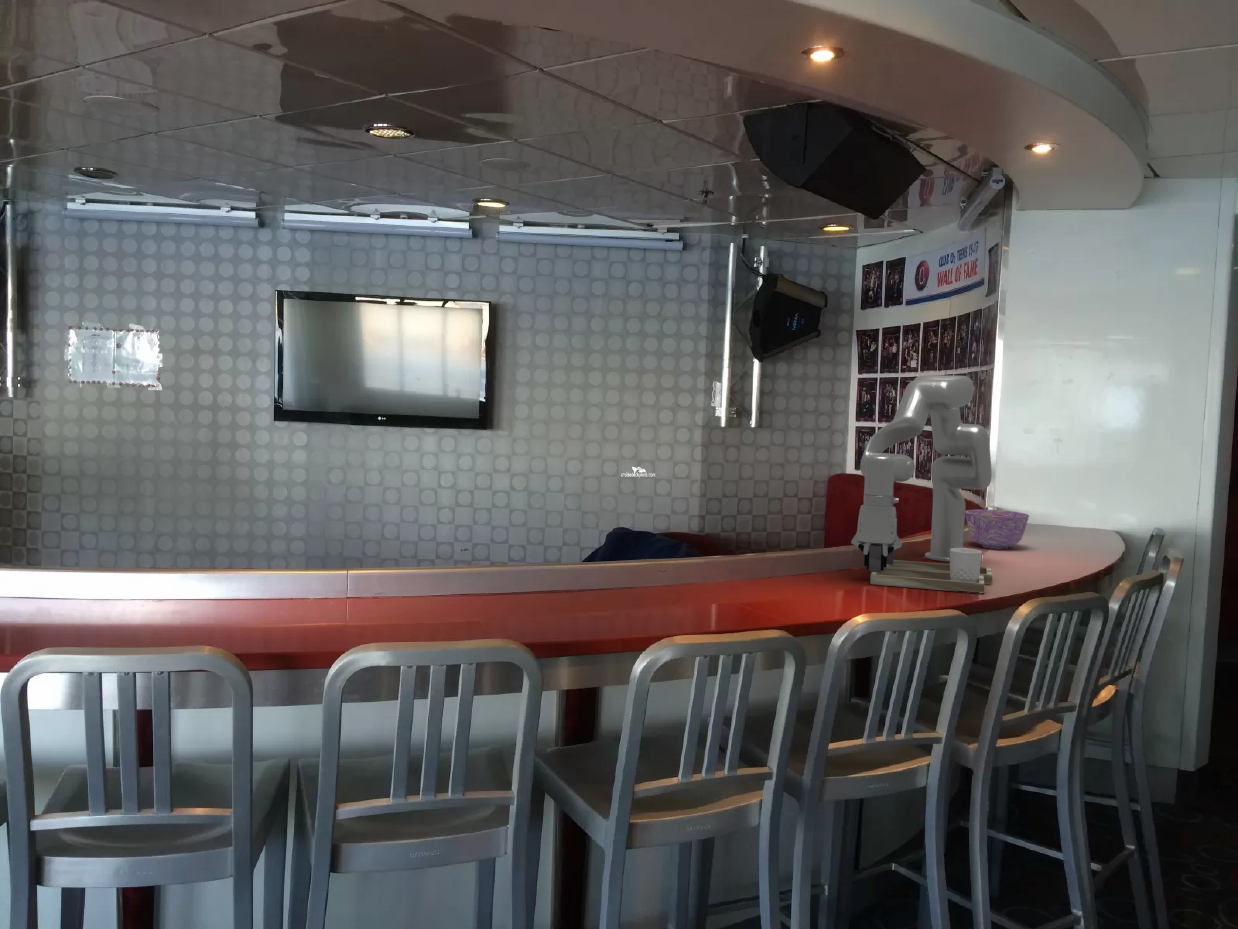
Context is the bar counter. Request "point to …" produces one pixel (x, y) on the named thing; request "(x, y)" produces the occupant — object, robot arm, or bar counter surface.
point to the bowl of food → (996, 527)
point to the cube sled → (930, 566)
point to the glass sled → (916, 576)
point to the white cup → (965, 564)
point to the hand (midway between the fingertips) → (875, 568)
